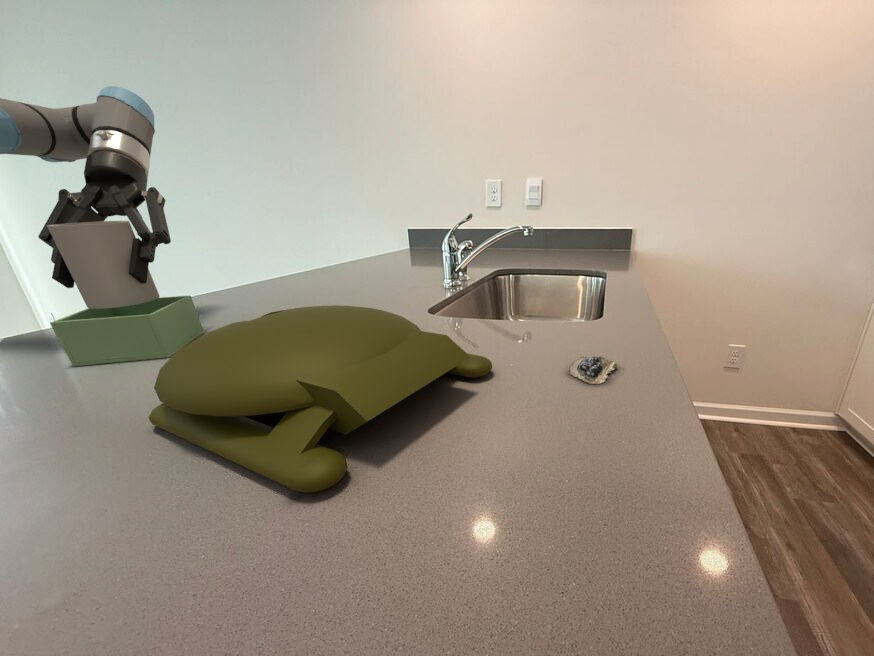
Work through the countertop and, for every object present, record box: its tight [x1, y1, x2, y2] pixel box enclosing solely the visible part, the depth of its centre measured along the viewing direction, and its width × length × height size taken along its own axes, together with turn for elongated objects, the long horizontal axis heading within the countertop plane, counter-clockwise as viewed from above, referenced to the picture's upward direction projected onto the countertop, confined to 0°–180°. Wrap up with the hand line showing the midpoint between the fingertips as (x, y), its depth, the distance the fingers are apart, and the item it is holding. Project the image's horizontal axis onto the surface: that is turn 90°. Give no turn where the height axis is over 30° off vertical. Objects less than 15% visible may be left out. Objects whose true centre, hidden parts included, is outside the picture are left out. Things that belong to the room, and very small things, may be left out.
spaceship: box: [148, 304, 493, 494], centre depth 51 cm, size 35×31×10 cm
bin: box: [49, 295, 205, 367], centre depth 69 cm, size 13×13×7 cm
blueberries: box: [569, 355, 618, 385], centre depth 56 cm, size 7×8×2 cm
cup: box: [47, 220, 161, 309], centre depth 64 cm, size 9×9×12 cm
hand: (100, 280), depth 62 cm, fingers closed on cup, 9 cm apart
